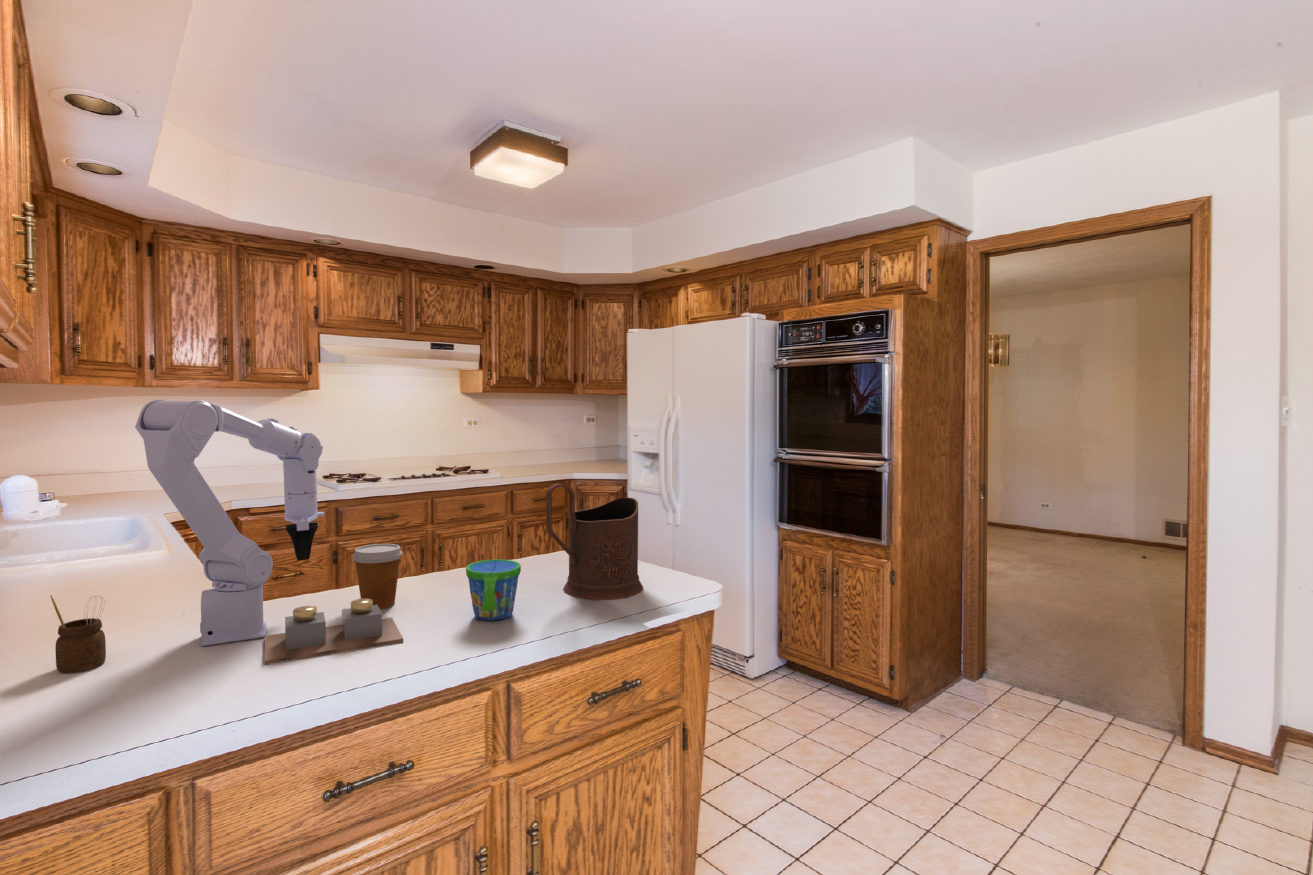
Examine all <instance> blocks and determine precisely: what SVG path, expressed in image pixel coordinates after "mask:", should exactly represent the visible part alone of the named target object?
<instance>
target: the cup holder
mask: <svg viewBox="0 0 1313 875" xmlns="http://www.w3.org/2000/svg"><path fill="white" fill-rule="evenodd" d="M558 488H563V489H565V490H566V491H567V492H568V515H569V516H568V544H569V545H568V546H567V545H566V544H565V543H564V542H563V540H561V538H560V537H559V536H558V535H557V534H556V533H555V531H554V530H553V528H552V518H553V517H552V516H553V515H552V508H553V492H554V491H555V490H556V489H558ZM575 497H576V496H575V492H574V489H573V488H572V487H571V486H569V485H566V484H564V483H563V484H562V483H554V484H552V485H551V486H549V487H548V488H547V489H546V493H545V529H546V532H547V533H548V534H549V536H551V538H552V539H553V540H554V541H555V542H556V543H557V544H558V545H559V546H560V547H561V548H562V549H563V551H564V552H565V553H566V554H567V555H568V575H567V579H566V580H567V581H566V583H565V584H564V586H563V588H562V591H563V593H565V594H566V595H567V596H570V597H572V598H576V599H582V600H587V601H589V600H590V601H612V600H613V601H614V600H622V599H628V598H632V597H634V596H637V595H639V594H641V593H642V592H643V591H644V586H643V584H642V582H641V581H640V575H639V574H638V573H639V570H638V568H639V565H638V564H639V561H638V560H639V501H638V500H637V499H635V498H633V497H627V496H626V497H625V496H623V497H618V498H616V499H613V500H611V501H608V502H606V503H604V504H602V505H599V506H596V507H593V508H592V507H591V508H586V509H580V510H576V509H575V505H576V501H575V500H576V498H575ZM575 510H576V511H575Z"/></svg>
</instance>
